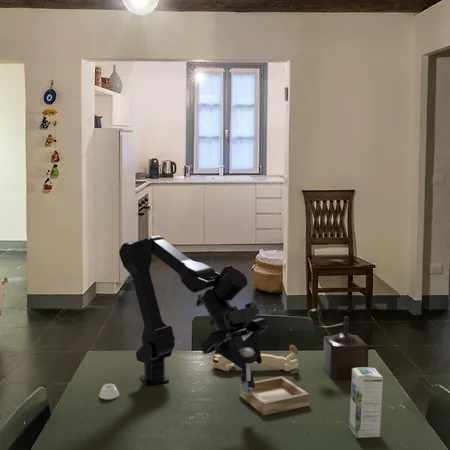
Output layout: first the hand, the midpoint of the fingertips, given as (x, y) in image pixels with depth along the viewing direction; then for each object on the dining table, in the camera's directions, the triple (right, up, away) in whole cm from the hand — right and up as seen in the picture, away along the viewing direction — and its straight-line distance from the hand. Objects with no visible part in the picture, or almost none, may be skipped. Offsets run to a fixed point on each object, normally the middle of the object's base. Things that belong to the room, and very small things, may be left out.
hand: (252, 365), depth 146 cm
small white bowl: (-37, -12, +15) cm, 41 cm away
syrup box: (+25, -14, -5) cm, 30 cm away
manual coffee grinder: (+25, -9, +32) cm, 41 cm away
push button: (-1, -7, +2) cm, 7 cm away
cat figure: (+2, -9, +34) cm, 35 cm away
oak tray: (+6, -12, +12) cm, 18 cm away
